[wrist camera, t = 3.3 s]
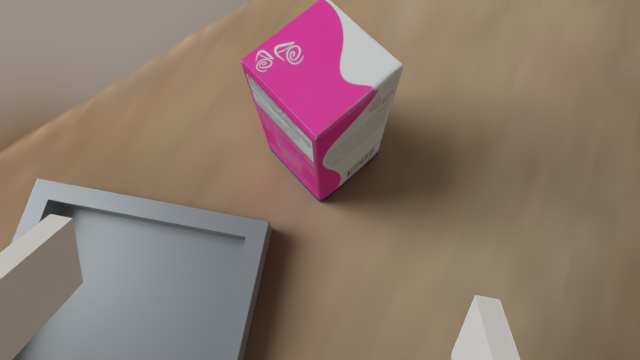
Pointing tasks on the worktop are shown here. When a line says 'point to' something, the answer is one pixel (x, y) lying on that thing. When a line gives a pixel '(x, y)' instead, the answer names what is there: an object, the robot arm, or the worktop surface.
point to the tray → (150, 278)
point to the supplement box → (323, 96)
